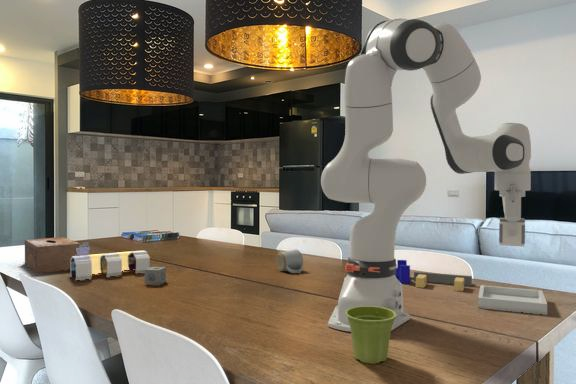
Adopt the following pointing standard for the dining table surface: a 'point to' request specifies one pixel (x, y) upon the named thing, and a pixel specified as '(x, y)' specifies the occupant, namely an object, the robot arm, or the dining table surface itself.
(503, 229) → the grey rectangular box
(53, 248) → the tissue box cover
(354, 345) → the plant pot
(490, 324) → the dining table surface
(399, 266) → the cable clip
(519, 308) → the parts tray
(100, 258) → the multicoloured piece
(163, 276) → the dice cube
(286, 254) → the ceramic mug
